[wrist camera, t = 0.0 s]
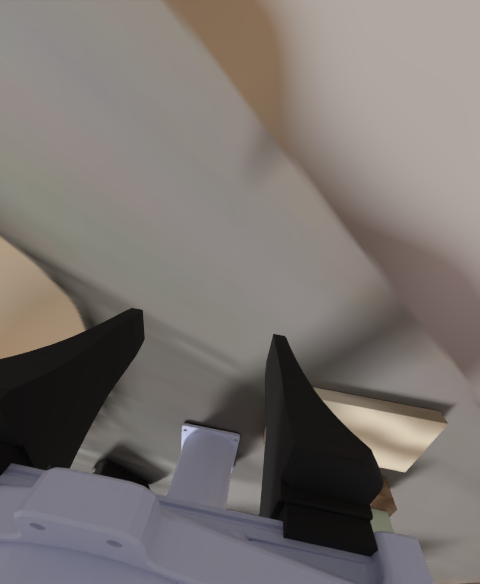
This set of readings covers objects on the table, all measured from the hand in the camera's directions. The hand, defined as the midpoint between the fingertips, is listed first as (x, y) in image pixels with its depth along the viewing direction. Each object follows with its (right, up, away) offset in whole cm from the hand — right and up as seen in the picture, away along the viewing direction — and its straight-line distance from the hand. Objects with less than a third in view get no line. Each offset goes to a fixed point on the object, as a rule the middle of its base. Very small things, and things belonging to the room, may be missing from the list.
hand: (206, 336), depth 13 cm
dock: (+15, -14, +17) cm, 26 cm away
